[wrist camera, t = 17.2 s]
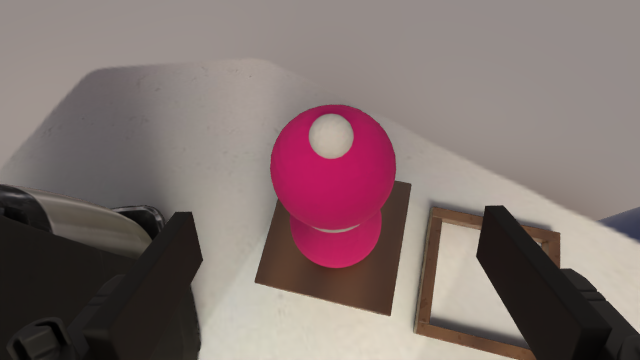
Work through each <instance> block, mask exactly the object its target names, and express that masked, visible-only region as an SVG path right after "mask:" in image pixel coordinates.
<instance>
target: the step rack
mask: <svg viewBox="0 0 640 360" xmlns="http://www.w3.org/2000/svg"><path fill="white" fill-rule="evenodd" d="M410 190H411V184H410V183H405V182H400V181H394V185H393V188H392V191H391V193H390V195H389V197H388V199H387V200H386V202H385V203H384V205H383V206H382V207H381V209H380V211H381V219H382V224H381V231H380V236H379V238H378V241H377V243H376V245H375V247H374V248H373V250H372V251H371V252H370V253H369V254H368V255H367V256H366V257H365V258H364V259H363V260H361V261H359V262H358V263H356V264H353V265H351V266H347V267H343V268H330V267H325V266H321V265H319V264H316V263H314V262H312V261H311V260H309V259H308V258H307V257H306V256H304V255H303V254H302V252H301V251H300V250H299V249H298V247H297V246H296V244H295V242H294V239H293V237H292V233H291V228H290V213H289V212H288V211H287V210H286V208H285V207H284V206H283V204H282V203H281V201H280V200H279V199H278V201H277V204H276V208H275V211H274V215H273V218H272V222H271V225H270V229H269V232H268V236H267V239H266V243H265V246H264V250H263V253H262V257H261V260H260V264H259V267H258V271H257V274H256V278H255V281H254V282H255V283H258V284H262V285H266V286H269V287H273V288H277V289H281V290H285V291H289V292H293V293H297V294H301V295H305V296H309V297H313V298H317V299H321V300H325V301H329V302H333V303H337V304H341V305H345V306H349V307H353V308H357V309H361V310H365V311H369V312H373V313H377V314H381V315H386V316H390V315H391V309H392V303H393V297H394V291H395V284H396V278H397V272H398V266H399V259H400V253H401V247H402V241H403V234H404V228H405V222H406V215H407V209H408V203H409V197H410ZM442 222H446V223H450V224H455V225H460V226H464V227H469V228H474V229H479V230H481V227H482V222H483V217H481V216H476V215H471V214H467V213H462V212H457V211H452V210H447V209H442V208H438V207H433V208H432V209H431V210H430V216H429V224H428V231H427V238H426V245H425V253H424V260H423V267H422V274H421V281H420V289H419V296H418V303H417V310H416V318H415V325H414V333H416V334H419V335H423V336H427V337H431V338H435V339H439V340H443V341H447V342H451V343H455V344H459V345H463V346H466V347H470V348H474V349H478V350H482V351H486V352H490V353H494V354H498V355H502V356H506V357H510V358H514V359H518V360H537V359H536V357H535V356H534V354H533V352H532V351H531V350H530V349H526V348H522V347H518V346H514V345H510V344H506V343H501V342H497V341H493V340H489V339H485V338H481V337H477V336H473V335H469V334H465V333H461V332H457V331H453V330H449V329H445V328H441V327H437V326H433V325H429V321H430V313H431V306H432V298H433V290H434V282H435V274H436V266H437V258H438V250H439V242H440V234H441V226H442ZM521 226H522V227H523V228H524V229H525V230H526V232H527V233H528V234H529V235H530V236H531V237H532V238H533V239H534V241H535V242H540V243H542V250H543V251H544V252H545V253H546V254H547V255H548V256H549V257H550V259H551V260H552V261H553V262H554V263H555V264H556V265H557V266H558V268H559V269H560V233H558V232H553V231H549V230H544V229H539V228H534V227H529V226H524V225H521Z"/></svg>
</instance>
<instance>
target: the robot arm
mask: <svg viewBox="0 0 640 360" xmlns="http://www.w3.org/2000/svg"><path fill="white" fill-rule="evenodd" d="M476 257H477V259H478V261H479V262H480V264H481V266H482V268H483V269H484V271H485V273H486V274H487V276H488V278H489V279H490V281H491V283H492V285H493V286H494V288H495V290H496V291H497V293H498V295H499V296H500V298H501V300H502V302H503V303H504V305H505V307H506V308H507V310H508V312H509V313H510V315H511V317H512V318H513V320H514V322H515V324H516V325H517V327H518V329H519V330H520V332H521V334H522V335H523V337H524V339H525V341H526V342H527V344H528V346H529V347H530V349H531V351H532V352H533V354H534V356H535V357H536V359H537V360H640V334H639V333H638V332H637V331H636V330H635V329H634V328H633V327H632V326H631V325H630V324H629V323H628V322H627V321H626V319H625V318H624V317H623V316H622V315H621V314H620V313H619V312H618V311H617V310H616V309H615V308H614V307H613V306H612V305H611V304H610V303H609V302H608V301H606V299H605V298H604V296H603V295H602V294H601V293H600V292H597V289H596V288H595V287H594V286H593V285H592V284H591V283H590V282H589V281H588V280H587V279H586V278H585V277H583V276H582V275H580V274H579V273H577V272H575V271H574V270H572V269H559V268H558V266H557V265H556V264H555V263H554V262H553V261H552V260H551V259H550V257H549V256H548V255H547V254H546V253H545V252H544V251H543V250H542V248H541V247H540V246H539V245H538V244H537V243H536V242H535V241H534V239H533V238H532V237H531V236H530V235H529V234H528V233H527V232H526V230H525V229H524V228H523V227H522V226H521V225H520V224H519V223H518V221H517V220H516V219H515V218H514V217H513V216H512V215H511V214H510V212H509V211H508V210H507V209H506V208H505V207H504V206H503V205H500V206H485V211H484V216H483V222H482V227H481V233H480V238H479V244H478V249H477V254H476ZM202 261H203V258H202V254H201V249H200V245H199V241H198V236H197V232H196V228H195V223H194V219H193V215H192V212H175V213H174V214H173V216H172V217H171V218H170V219H169V221H168V222H167V223H166V224H165V226H164V227H163V228H162V230H161V231H160V232H159V233H158V235H157V236H156V237H155V238H154V240H153V241H152V242H151V243H150V245H149V246H148V247H147V248H146V250H145V251H144V252H143V253H142V255H141V256H140V257H139V258H138V260H137V261H136V262H135V263H134V265H133V266H132V267H131V268H130V270H129V271H128V272H127V274H124V275H116V276H114V277H113V278H112V279H110V280H109V281H107V282H106V283H105V284H104V285H103V286H102V287H101V288H100V289H99V290H98V292H97V293H96V294H95V297H93V298H92V299H91V300H90V301H89V302H88V303H87V306H85V307H84V308H83V309H82V311H81V312H80V313H79V314H78V315H77V316H76V318H75V319H74V320H73V321H72V322H71V323H70V325H69V326H68V327H67V328H66V327H65V325H64V323H63V321H62V320H61V319H60V318H57V317H46V318H42V319H39V320H36V321H34V322H32V323H30V324H28V325H26V326H24V327H23V328H22V329H20V330H19V331H18V332H16V333H15V334H14V335H13V336H12V338H11V339H10V340H9V341H8V344H7V347H6V349H7V350H8V352H9V354H10V355H11V357H12V359H13V360H151V358H152V356H153V354H154V352H155V350H156V348H157V347H158V345H159V343H160V341H161V339H162V337H163V335H164V333H165V331H166V329H167V328H168V326H169V324H170V322H171V320H172V318H173V316H174V314H175V312H176V311H177V309H178V307H179V305H180V303H181V301H182V299H183V297H184V295H185V293H186V292H187V290H188V288H189V286H190V284H191V282H192V280H193V278H194V276H195V275H196V273H197V271H198V269H199V267H200V265H201V263H202Z"/></svg>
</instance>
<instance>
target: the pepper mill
mask: <svg viewBox="0 0 640 360" xmlns="http://www.w3.org/2000/svg"><path fill="white" fill-rule="evenodd" d="M270 172H271V179H272V183H273V187H274V190H275V192H276V194H277V196H278V199H279V200H280V201H281V203H282V204H283V206H284V207H285V208H286V210H287V211H288V212H289V213H290V228H291V233H292V237H293V239H294V242H295V244H296V246H297V247H298V249H299V250H300V251H301V252H302V254H303V255H304V256H306V257H307V258H308V259H309V260H311V261H312V262H314V263H316V264H319V265H321V266H325V267H330V268H343V267H347V266H351V265H353V264H356V263H358V262H359V261H361V260H363V259H364V258H365V257H366V256H367V255H368V254H369V253H370V252H371V251H372V250H373V248H374V247H375V245H376V243H377V241H378V238H379V236H380V231H381V224H382V219H381V211H380V209H381V207H382V206H383V205H384V203H385V202H386V200H387V199H388V197H389V195H390V193H391V191H392V188H393V185H394V181H395V174H396V159H395V153H394V150H393V147H392V144H391V142H390V140H389V138H388V136H387V134H386V132H385V131H384V129H383V128H382V127H381V126H380V124H379V123H377V122H376V121H375V120H374V119H373V118H372V117H370V116H369V115H367V114H366V113H364V112H362V111H361V110H359V109H356V108H353V107H350V106H345V105H324V106H318V107H315V108H312V109H309V110H307V111H305V112H303V113H300V114H299V115H298V116H297V117H295V118H294V119H293V120H291V121H290V122H289V123H288V124H287V125H286V126H285V127H284V128H283V129H282V131H281V133H280V134H279V136H278V138H277V140H276V142H275V144H274V147H273V151H272V154H271V164H270Z"/></svg>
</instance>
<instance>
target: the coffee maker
mask: <svg viewBox="0 0 640 360" xmlns="http://www.w3.org/2000/svg"><path fill="white" fill-rule="evenodd" d="M164 226H165V222H164V218H163V216H162V215H161V213H160V212H159V211H158V210H157V209H155V208H154V207H150V206H127V207H119V208H114V209H108V208H105V207H103V206H100V205H97V204H94V203H91V202H87V201H84V200H81V199H77V198H73V197H69V196H65V195H61V194H56V193H52V192H47V191H42V190H37V189H31V188H25V187H19V186H13V185H7V184H0V360H13V359H12V357H11V355H10V354H9V352H8V350H7V349H6V347H7V344H8V341H9V340H10V339H11V338H12V336H13V335H14V334H15V333H16V332H18V331H19V330H20V329H22V328H23V327H24V326H26V325H28V324H30V323H32V322H34V321H36V320H39V319H42V318H46V317H57V318H60V319H61V320H62V321H63V323H64V325H65V327H66V328H67V327H68V326H69V325H70V323H71V322H72V321H73V320H74V319H75V318H76V316H77V315H78V314H79V313H80V312H81V311H82V309H83V308H84V307H85V306H87V303H88V302H89V301H90V300H91V299H92V298H93V297H95V294H96V293H97V292H98V290H99V289H100V288H101V287H102V286H103V285H104V284H105V283H106V282H107V281H109V280H110V279H112V278H113V277H114V276H116V275H124V274H127V272H128V271H129V270H130V268H131V267H132V266H133V265H134V263H135V262H136V261H137V260H138V258H139V257H140V256H141V255H142V253H143V252H144V251H145V250H146V248H147V247H148V246H149V245H150V243H151V242H152V241H153V240H154V238H155V237H156V236H157V235H158V233H159V232H160V231H161V230H162V228H163V227H164ZM198 330H199V329H198V327H197V319H196V312H195V306H194V302H193V297H192V294H191V288H190V286H189V288H188V290H187V292H186V293H185V295H184V297H183V299H182V301H181V303H180V305H179V307H178V309H177V311H176V312H175V314H174V316H173V318H172V320H171V322H170V324H169V326H168V328H167V329H166V331H165V333H164V335H163V337H162V339H161V341H160V343H159V345H158V347H157V348H156V350H155V352H154V354H153V356H152V358H151V360H197V353H198V351H199V350H200V340H199V333H198Z"/></svg>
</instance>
